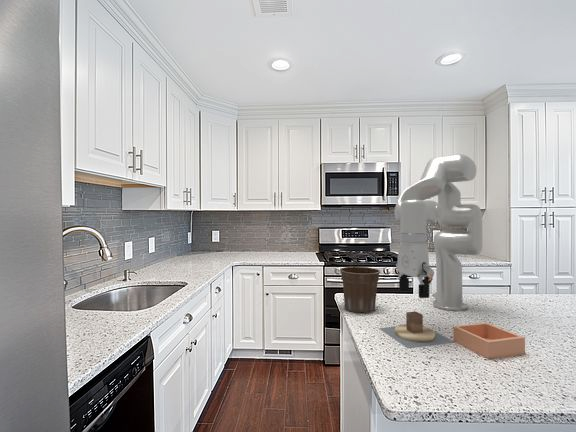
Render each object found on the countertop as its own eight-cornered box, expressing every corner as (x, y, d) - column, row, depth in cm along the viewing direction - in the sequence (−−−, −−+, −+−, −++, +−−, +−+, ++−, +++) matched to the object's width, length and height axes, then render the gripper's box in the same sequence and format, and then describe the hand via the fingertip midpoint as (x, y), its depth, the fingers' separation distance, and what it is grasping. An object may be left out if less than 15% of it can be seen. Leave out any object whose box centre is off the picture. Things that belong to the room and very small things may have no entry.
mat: (378, 330, 101) (378, 328, 101) (420, 325, 105) (420, 323, 105) (407, 350, 86) (407, 348, 86) (455, 344, 89) (455, 342, 89)
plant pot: (387, 308, 125) (387, 269, 125) (369, 318, 113) (369, 274, 113) (352, 301, 136) (352, 265, 136) (332, 309, 124) (332, 270, 124)
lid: (387, 330, 99) (387, 309, 99) (418, 326, 102) (418, 306, 102) (410, 344, 88) (409, 321, 88) (443, 339, 91) (443, 317, 91)
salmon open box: (453, 342, 90) (453, 326, 90) (486, 338, 93) (486, 322, 93) (488, 361, 79) (488, 342, 79) (525, 356, 81) (524, 337, 81)
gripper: (387, 237, 103) (387, 288, 102) (421, 240, 86) (421, 301, 86) (407, 237, 105) (407, 287, 104) (443, 240, 88) (444, 300, 87)
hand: (413, 293), depth 95 cm, fingers open, 9 cm apart
